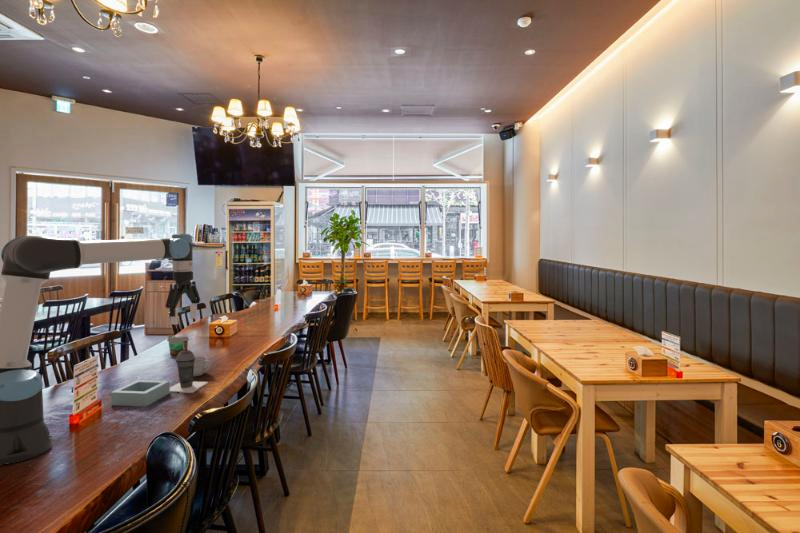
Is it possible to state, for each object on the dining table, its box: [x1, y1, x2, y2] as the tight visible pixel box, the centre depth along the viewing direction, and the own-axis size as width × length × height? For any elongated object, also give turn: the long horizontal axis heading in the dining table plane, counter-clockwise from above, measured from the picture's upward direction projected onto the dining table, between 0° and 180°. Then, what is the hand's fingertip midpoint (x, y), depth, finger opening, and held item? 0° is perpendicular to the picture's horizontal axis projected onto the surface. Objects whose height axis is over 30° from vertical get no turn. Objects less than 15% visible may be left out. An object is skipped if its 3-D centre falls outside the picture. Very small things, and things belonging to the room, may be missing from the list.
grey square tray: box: [110, 379, 171, 408], centre depth 166 cm, size 14×14×5 cm
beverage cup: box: [175, 340, 196, 388], centre depth 178 cm, size 7×7×20 cm
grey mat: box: [170, 380, 209, 394], centre depth 179 cm, size 12×12×1 cm
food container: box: [166, 334, 190, 357], centre depth 230 cm, size 12×6×10 cm, turn 73°
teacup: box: [193, 355, 212, 377], centre depth 195 cm, size 14×11×8 cm
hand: (184, 321), depth 177 cm, fingers open, 13 cm apart
